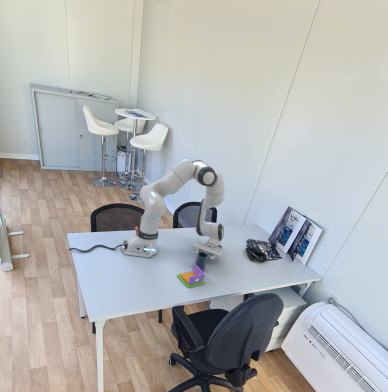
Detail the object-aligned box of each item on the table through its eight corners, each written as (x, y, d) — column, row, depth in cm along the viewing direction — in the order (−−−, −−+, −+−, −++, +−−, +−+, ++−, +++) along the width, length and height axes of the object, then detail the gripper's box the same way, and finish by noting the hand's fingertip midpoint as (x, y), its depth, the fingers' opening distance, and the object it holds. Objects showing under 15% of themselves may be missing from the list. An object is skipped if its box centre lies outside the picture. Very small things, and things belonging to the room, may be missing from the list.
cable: (241, 249, 212) (243, 244, 209) (257, 249, 217) (259, 244, 215) (252, 262, 200) (254, 257, 197) (268, 262, 205) (271, 257, 202)
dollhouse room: (204, 283, 170) (207, 274, 166) (188, 287, 163) (190, 278, 159) (193, 271, 177) (196, 262, 173) (177, 275, 170) (179, 266, 166)
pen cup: (195, 271, 177) (199, 257, 171) (193, 265, 182) (196, 251, 176) (205, 271, 180) (209, 257, 173) (202, 265, 184) (206, 252, 178)
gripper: (197, 237, 190) (189, 246, 179) (226, 248, 187) (219, 257, 176) (195, 245, 194) (187, 254, 183) (223, 256, 190) (217, 266, 179)
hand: (203, 256), depth 179 cm, fingers open, 8 cm apart
